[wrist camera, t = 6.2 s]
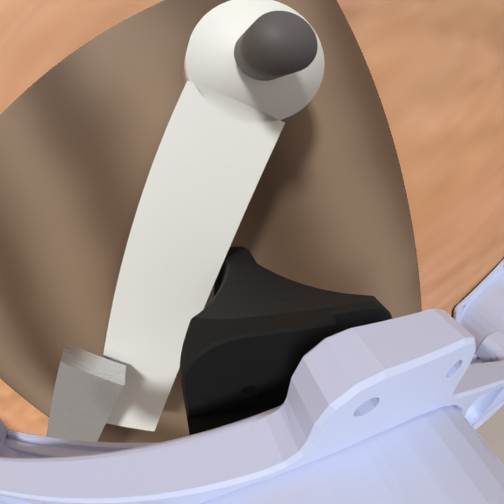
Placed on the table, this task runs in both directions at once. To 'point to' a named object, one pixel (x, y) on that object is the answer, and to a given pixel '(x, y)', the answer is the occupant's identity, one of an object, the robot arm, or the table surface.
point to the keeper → (84, 394)
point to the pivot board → (138, 167)
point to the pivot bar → (195, 202)
